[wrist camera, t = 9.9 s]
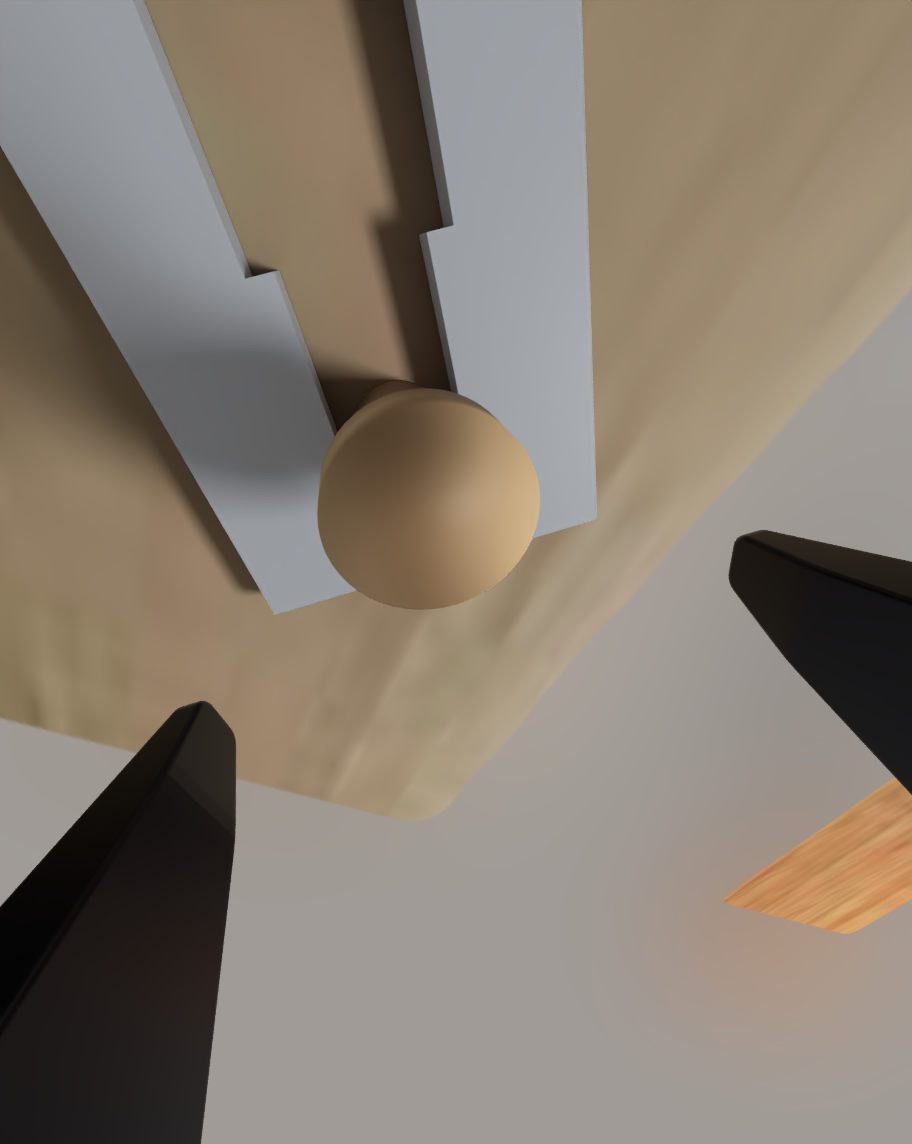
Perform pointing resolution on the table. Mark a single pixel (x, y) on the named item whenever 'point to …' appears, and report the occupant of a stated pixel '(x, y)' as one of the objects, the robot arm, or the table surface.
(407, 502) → the peg
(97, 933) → the robot arm
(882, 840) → the table surface
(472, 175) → the keyhole board
